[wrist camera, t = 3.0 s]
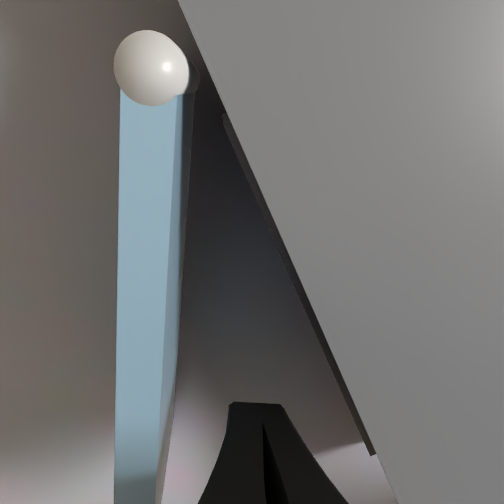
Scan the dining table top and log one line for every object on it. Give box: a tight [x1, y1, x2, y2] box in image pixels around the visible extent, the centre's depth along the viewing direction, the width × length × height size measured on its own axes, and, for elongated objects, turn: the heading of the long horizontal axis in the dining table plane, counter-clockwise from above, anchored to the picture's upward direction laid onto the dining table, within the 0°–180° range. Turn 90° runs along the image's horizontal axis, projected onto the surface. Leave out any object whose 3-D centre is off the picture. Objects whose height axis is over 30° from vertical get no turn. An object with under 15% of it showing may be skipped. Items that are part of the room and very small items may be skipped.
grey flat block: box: [178, 0, 504, 504], centre depth 10 cm, size 20×10×5 cm, turn 24°
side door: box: [113, 30, 200, 504], centre depth 10 cm, size 10×1×5 cm, turn 174°
